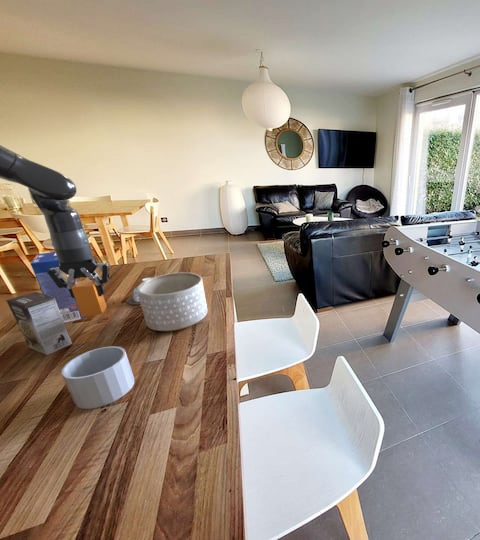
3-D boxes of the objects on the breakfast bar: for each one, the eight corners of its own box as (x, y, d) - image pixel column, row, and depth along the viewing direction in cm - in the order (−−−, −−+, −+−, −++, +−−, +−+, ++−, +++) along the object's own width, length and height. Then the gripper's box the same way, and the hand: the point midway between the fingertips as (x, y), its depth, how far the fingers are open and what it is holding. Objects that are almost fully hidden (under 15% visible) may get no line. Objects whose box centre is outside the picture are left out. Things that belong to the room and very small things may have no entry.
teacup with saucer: (163, 300, 114) (159, 282, 111) (125, 308, 107) (119, 289, 104) (162, 289, 123) (158, 272, 120) (127, 295, 116) (122, 277, 114)
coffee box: (27, 348, 85) (4, 300, 78) (55, 336, 90) (35, 290, 84) (46, 356, 82) (23, 306, 76) (73, 343, 87) (54, 296, 81)
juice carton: (81, 317, 88) (71, 287, 84) (86, 309, 92) (77, 281, 89) (102, 313, 90) (93, 285, 87) (106, 306, 94) (98, 279, 91)
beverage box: (85, 305, 108) (65, 250, 100) (83, 318, 100) (61, 259, 92) (60, 311, 104) (37, 253, 96) (55, 324, 96) (30, 263, 88)
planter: (211, 325, 99) (204, 288, 94) (145, 340, 90) (134, 300, 85) (205, 302, 114) (199, 269, 109) (148, 313, 105) (139, 277, 99)
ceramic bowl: (66, 415, 64) (52, 384, 61) (84, 381, 74) (72, 353, 70) (129, 399, 69) (119, 369, 66) (138, 369, 78) (129, 342, 75)
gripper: (106, 239, 89) (121, 288, 96) (43, 243, 83) (63, 295, 89) (99, 245, 83) (115, 298, 89) (31, 250, 77) (53, 306, 83)
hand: (89, 296), depth 89 cm, fingers closed on juice carton, 5 cm apart
